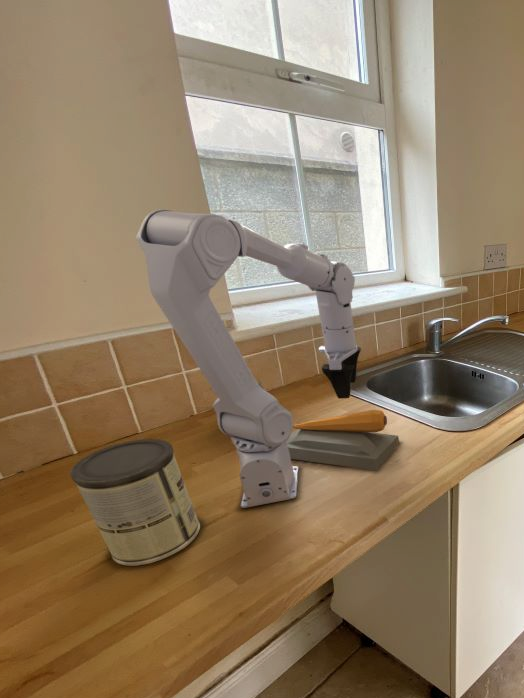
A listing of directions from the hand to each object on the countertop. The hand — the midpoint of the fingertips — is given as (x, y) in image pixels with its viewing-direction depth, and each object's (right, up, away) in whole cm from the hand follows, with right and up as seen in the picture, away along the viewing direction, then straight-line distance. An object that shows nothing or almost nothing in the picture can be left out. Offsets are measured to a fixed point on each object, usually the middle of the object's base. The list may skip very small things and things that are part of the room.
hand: (347, 389), depth 92 cm
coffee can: (-16, -23, -27) cm, 39 cm away
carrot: (-1, -8, -3) cm, 9 cm away
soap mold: (0, -12, -3) cm, 13 cm away
